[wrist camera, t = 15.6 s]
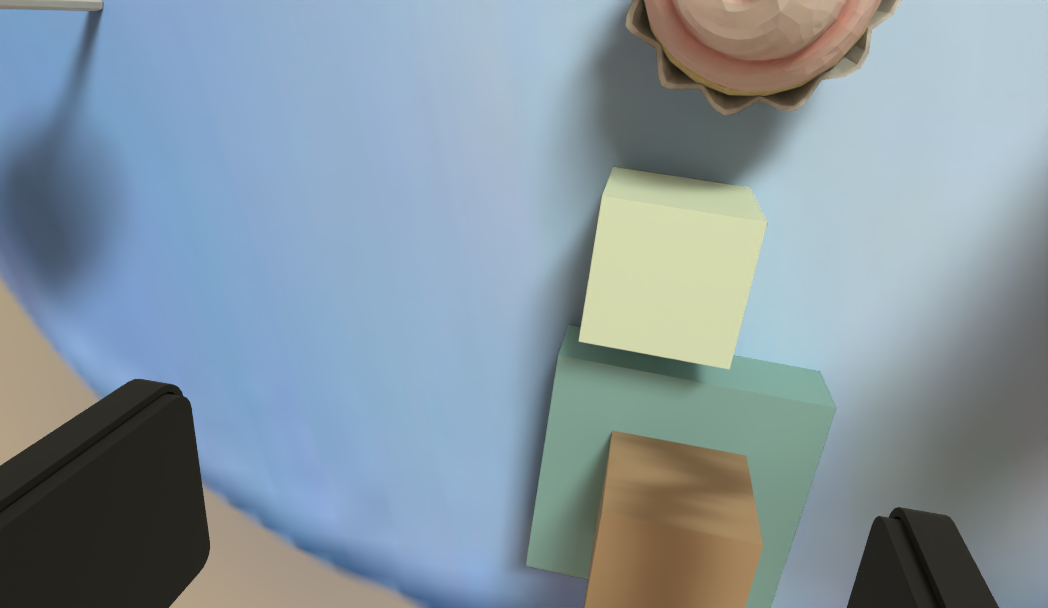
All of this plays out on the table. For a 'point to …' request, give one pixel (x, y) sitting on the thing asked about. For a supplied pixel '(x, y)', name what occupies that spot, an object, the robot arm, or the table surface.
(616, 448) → the walnut cube
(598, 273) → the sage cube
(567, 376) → the base block
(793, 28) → the cupcake
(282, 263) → the table surface
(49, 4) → the lollipop
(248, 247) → the table surface
